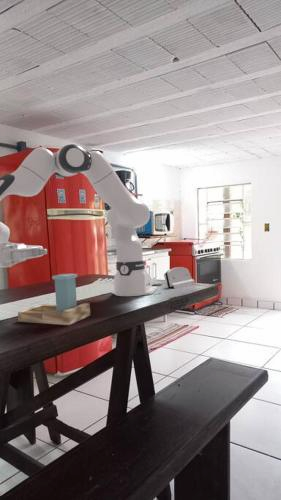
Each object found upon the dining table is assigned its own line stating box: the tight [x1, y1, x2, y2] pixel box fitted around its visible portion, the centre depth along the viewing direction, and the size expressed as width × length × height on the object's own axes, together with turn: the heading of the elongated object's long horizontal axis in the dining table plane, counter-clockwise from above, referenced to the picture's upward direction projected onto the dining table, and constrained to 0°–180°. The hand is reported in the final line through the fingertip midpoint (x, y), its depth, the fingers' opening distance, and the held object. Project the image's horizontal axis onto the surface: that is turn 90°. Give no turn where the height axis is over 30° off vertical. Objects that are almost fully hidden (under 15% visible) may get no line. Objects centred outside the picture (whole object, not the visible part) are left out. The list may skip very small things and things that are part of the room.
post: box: [51, 273, 78, 312], centre depth 109 cm, size 6×6×13 cm
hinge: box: [163, 266, 196, 290], centre depth 167 cm, size 17×5×10 cm, turn 136°
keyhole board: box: [17, 302, 91, 326], centre depth 111 cm, size 12×19×4 cm, turn 67°
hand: (36, 253), depth 114 cm, fingers open, 8 cm apart
